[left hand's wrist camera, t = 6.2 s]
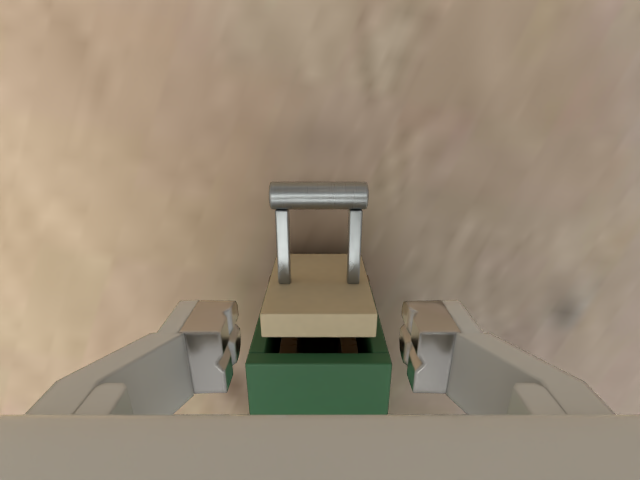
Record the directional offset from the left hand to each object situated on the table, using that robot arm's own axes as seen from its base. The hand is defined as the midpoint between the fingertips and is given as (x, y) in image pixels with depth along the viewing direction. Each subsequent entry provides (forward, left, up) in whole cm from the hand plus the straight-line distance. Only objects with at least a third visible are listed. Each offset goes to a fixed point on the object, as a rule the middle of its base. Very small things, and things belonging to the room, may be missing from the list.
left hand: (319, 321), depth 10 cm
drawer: (+9, +1, -11) cm, 14 cm away
